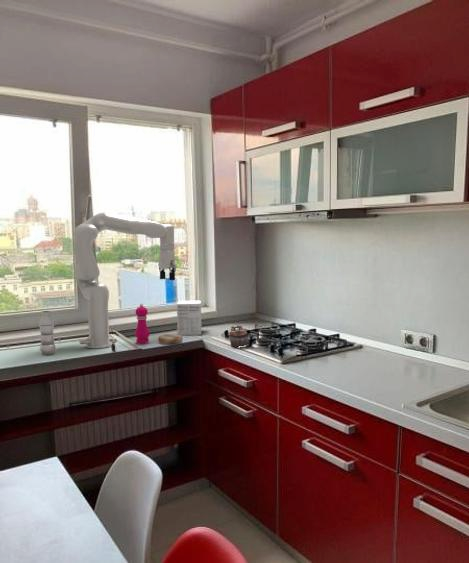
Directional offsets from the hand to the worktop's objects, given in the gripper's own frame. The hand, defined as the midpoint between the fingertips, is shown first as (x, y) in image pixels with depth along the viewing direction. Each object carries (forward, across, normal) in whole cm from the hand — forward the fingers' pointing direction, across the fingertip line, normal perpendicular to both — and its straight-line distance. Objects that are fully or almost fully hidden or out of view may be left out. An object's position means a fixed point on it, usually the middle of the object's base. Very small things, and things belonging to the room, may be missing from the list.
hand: (167, 279), depth 249 cm
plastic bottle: (+32, -1, -63) cm, 71 cm away
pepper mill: (+31, +5, -18) cm, 37 cm away
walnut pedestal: (+31, +14, -7) cm, 35 cm away
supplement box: (+31, 0, +14) cm, 34 cm away
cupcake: (+31, +45, +13) cm, 56 cm away
